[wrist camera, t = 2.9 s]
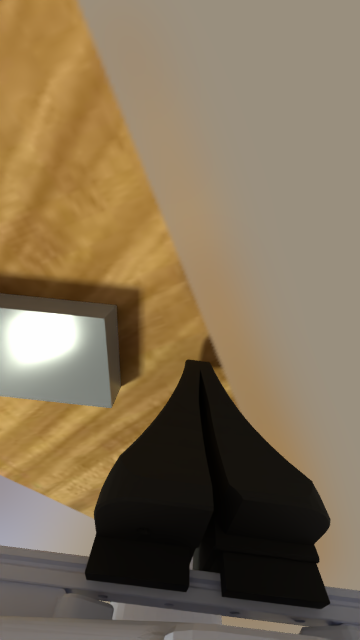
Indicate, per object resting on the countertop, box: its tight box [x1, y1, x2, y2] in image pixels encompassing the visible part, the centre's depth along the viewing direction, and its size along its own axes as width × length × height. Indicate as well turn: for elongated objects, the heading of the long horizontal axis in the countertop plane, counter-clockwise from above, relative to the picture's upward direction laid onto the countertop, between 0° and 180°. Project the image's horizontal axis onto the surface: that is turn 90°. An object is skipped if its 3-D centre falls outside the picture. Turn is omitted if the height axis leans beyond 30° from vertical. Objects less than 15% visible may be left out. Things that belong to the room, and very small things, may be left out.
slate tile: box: [0, 293, 121, 408], centre depth 12 cm, size 6×10×2 cm, turn 85°
